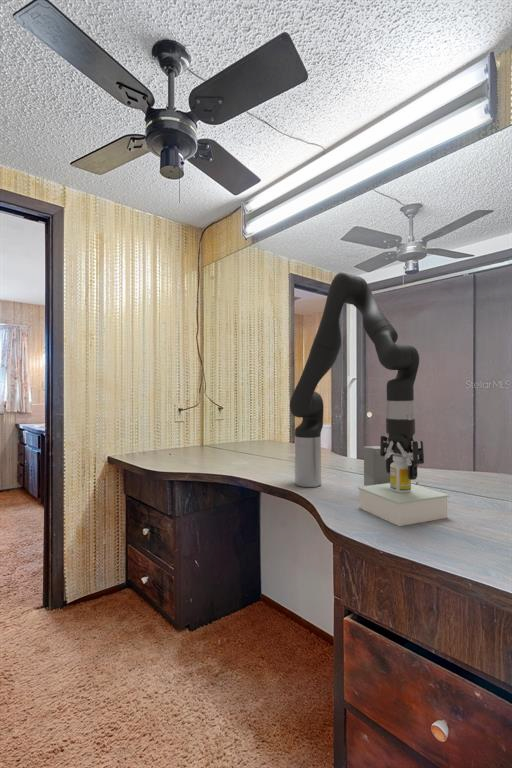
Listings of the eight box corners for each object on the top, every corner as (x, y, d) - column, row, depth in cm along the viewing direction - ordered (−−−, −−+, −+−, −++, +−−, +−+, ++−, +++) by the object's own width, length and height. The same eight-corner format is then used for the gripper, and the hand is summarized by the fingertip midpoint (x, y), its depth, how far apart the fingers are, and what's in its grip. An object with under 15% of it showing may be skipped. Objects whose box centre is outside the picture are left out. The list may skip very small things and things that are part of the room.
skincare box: (374, 501, 119) (374, 448, 119) (362, 495, 126) (361, 445, 126) (399, 498, 121) (398, 447, 121) (385, 492, 128) (384, 444, 128)
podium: (358, 507, 112) (357, 486, 112) (403, 501, 118) (403, 481, 118) (398, 526, 97) (398, 502, 97) (449, 518, 103) (448, 495, 103)
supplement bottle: (387, 491, 107) (387, 456, 107) (393, 487, 112) (393, 453, 112) (408, 494, 104) (407, 458, 104) (413, 490, 108) (412, 455, 109)
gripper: (372, 415, 113) (373, 472, 113) (408, 419, 100) (409, 483, 100) (393, 414, 116) (394, 469, 116) (430, 418, 103) (431, 480, 102)
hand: (401, 475), depth 108 cm, fingers open, 8 cm apart
